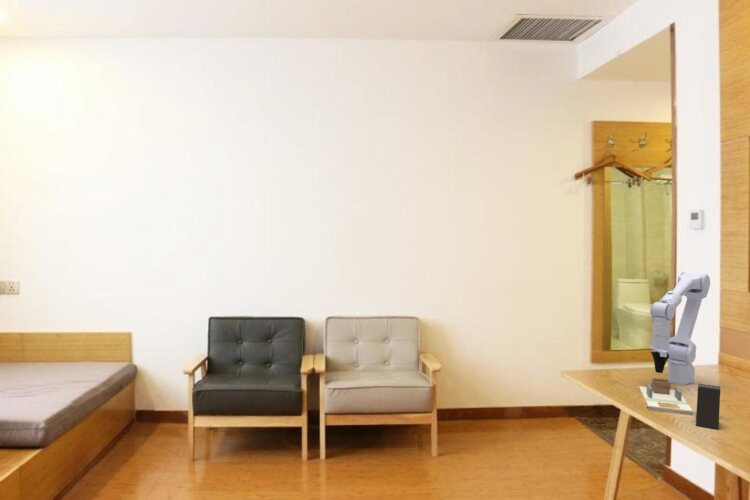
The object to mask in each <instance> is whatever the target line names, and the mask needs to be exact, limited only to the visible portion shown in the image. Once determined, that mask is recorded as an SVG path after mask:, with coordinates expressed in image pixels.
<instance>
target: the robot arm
mask: <svg viewBox="0 0 750 500" xmlns="http://www.w3.org/2000/svg"><path fill="white" fill-rule="evenodd" d="M710 286H711V278H710V276H709V274H708V273H695V272H694V273H693V272H685V271H681V272H680V273H679V275H678V277H677V283H676V285H675V287H674V289H673V290H668V291H667V292H666V293H665V294H664V295H663V296H662V298H661V299H660V300H659V301H656V302H653V303H652V305H651V307H650V311H649V312H650V316H651V322H652V335H651V337H652V338H651V345H648V347H647V348H648V350H652V351H651V352H650V354H651V357H652V359H653V364H654V371H655V373H658V374H663V372H664V370H665V366H666V363H667V377H666V380H668V381H669V382H670V384H673V385H682V386H685V385H686V386H687V385H689V384H694V383H695V375H696V370H695V367H694V365H693V363H694V361H695V360H696V357H697V355H696V352H697V345H696V344H695V343H694V342H693V341H692V339H691V338H692V335H693V331H694V329H695V325H696V321H697V318H698V315H699V311H700V308H701V305H702V301H703V300H704V299H705V298H707V297H708V293H709V290H710ZM683 296H684V297H686V302H685V305H684V307H683V311H682V315H681V318H680V321H679V324H678V328H677V331H676V335H674V336H672V337H671V321H672V319H673V318H674V316H675V313H676V312H677V311H676V310H677V308H678V307H679V305H680V304H681V303H682V301H683Z"/></svg>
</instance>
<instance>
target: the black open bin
mask: <svg viewBox="0 0 750 500" xmlns="http://www.w3.org/2000/svg"><path fill="white" fill-rule="evenodd" d="M696 399H697V400H696V413H695V414H696V416H695V426H696V427H701V428H707V429H713V430H719V428H720V409H721V408H720V406H721V404H720V403H721V386H719V385H718V386H717V385H711V384H703V383H698V384H697V397H696Z"/></svg>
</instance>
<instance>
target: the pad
mask: <svg viewBox="0 0 750 500" xmlns="http://www.w3.org/2000/svg"><path fill="white" fill-rule="evenodd" d="M644 400H645V402H646V401H656V402H658V403H660V402H665V403H664V404H669V403H674V404H673V405H677V404H683V405H689V404H688V402H687V401H686V402H681V401H671V400H662V399H653V398H644Z"/></svg>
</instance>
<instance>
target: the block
mask: <svg viewBox="0 0 750 500" xmlns="http://www.w3.org/2000/svg"><path fill="white" fill-rule="evenodd" d="M651 380H652V381H651V382H652V383H651V387H652V389H653V392H654V393H658V394H667V395H670V389H671V383H670V382H669V381H668V380H667V379H663V378H662V379H661V378H652V379H651Z"/></svg>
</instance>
